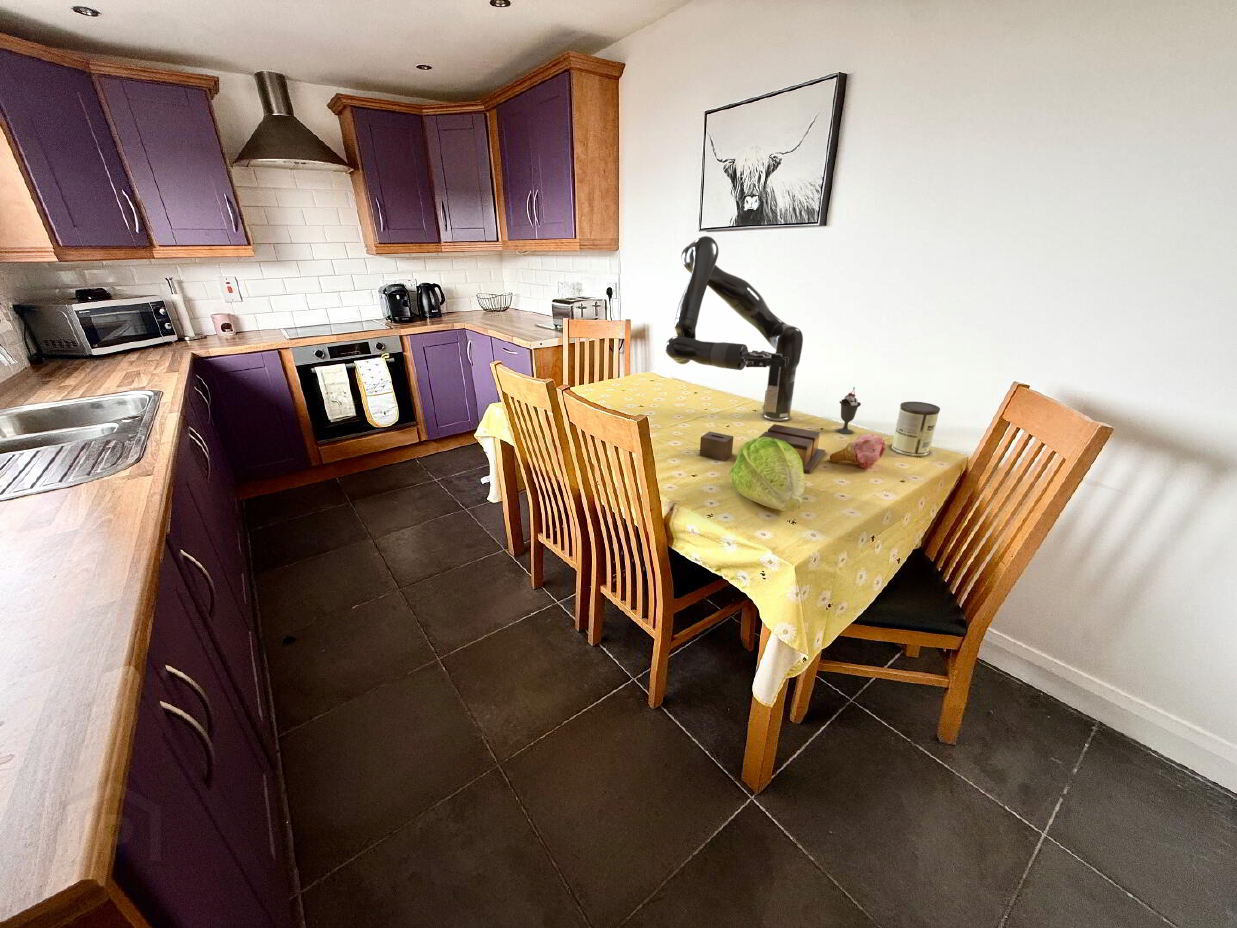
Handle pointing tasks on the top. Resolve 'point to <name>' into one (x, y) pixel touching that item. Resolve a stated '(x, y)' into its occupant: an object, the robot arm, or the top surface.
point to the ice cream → (862, 451)
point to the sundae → (848, 411)
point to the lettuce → (770, 474)
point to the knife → (773, 386)
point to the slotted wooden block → (799, 443)
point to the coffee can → (915, 428)
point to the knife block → (716, 445)
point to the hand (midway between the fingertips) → (786, 362)
